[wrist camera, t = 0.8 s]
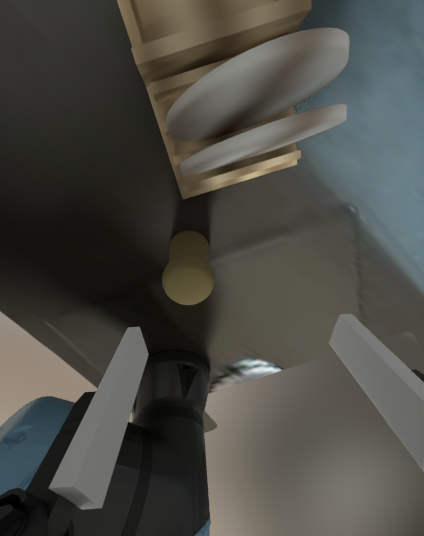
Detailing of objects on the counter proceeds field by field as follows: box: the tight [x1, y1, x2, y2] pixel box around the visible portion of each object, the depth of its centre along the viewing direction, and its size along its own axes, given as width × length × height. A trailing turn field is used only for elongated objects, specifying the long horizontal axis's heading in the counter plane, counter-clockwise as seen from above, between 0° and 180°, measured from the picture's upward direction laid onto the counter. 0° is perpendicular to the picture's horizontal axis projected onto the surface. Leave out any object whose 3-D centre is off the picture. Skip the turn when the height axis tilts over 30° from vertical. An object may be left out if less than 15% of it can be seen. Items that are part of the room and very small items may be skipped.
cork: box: [162, 231, 214, 305], centre depth 21 cm, size 6×6×11 cm
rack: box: [117, 0, 349, 199], centre depth 12 cm, size 15×22×14 cm
